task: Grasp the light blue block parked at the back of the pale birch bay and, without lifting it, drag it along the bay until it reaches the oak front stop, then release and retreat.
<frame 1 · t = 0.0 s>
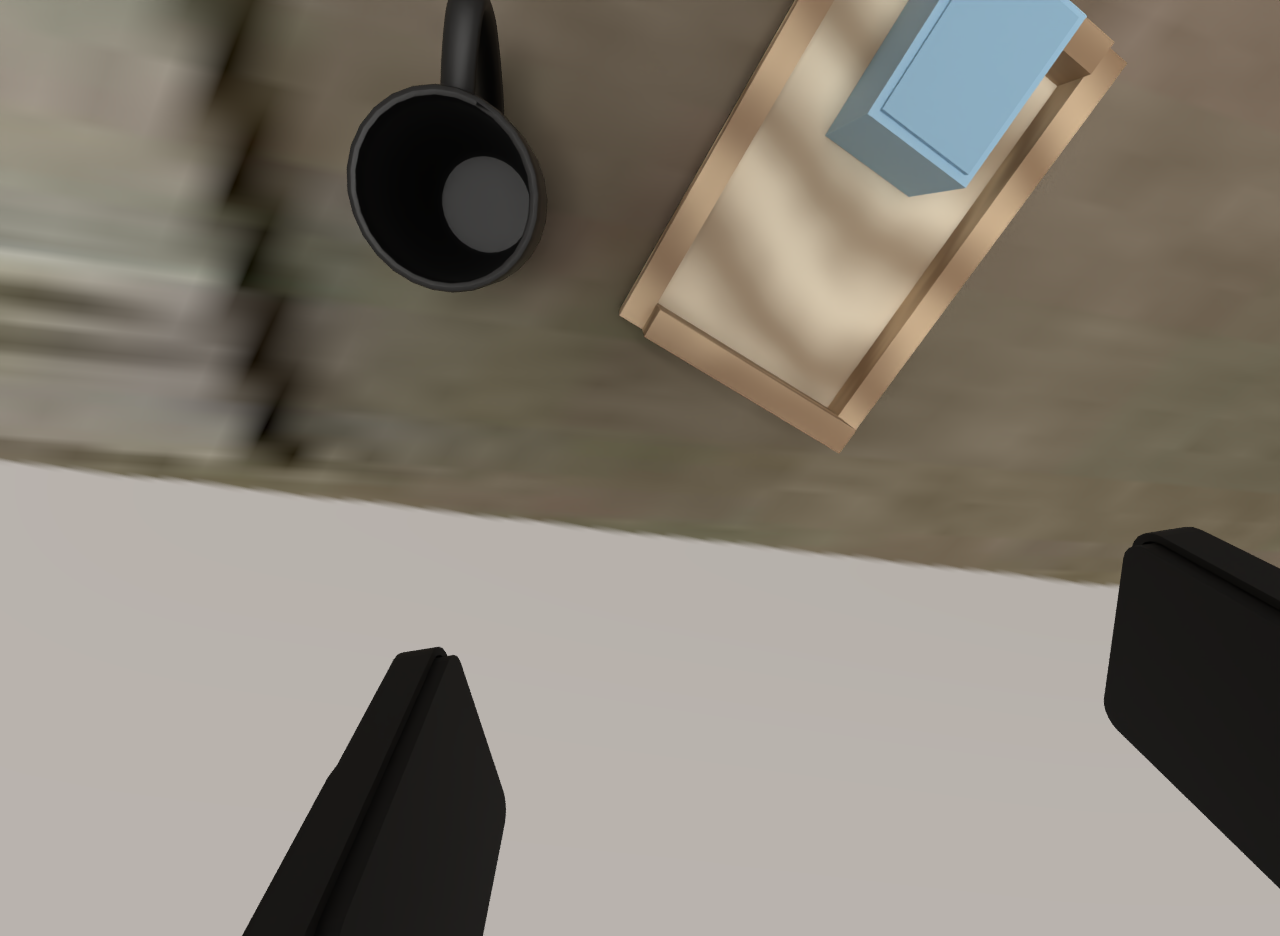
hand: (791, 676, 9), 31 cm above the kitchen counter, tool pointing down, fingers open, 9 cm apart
mug: (493, 171, 34), on the kitchen counter
bay: (840, 199, 35), on the kitchen counter
light blue block: (942, 81, 30), point 4 cm above the kitchen counter, slide at 0.0 cm
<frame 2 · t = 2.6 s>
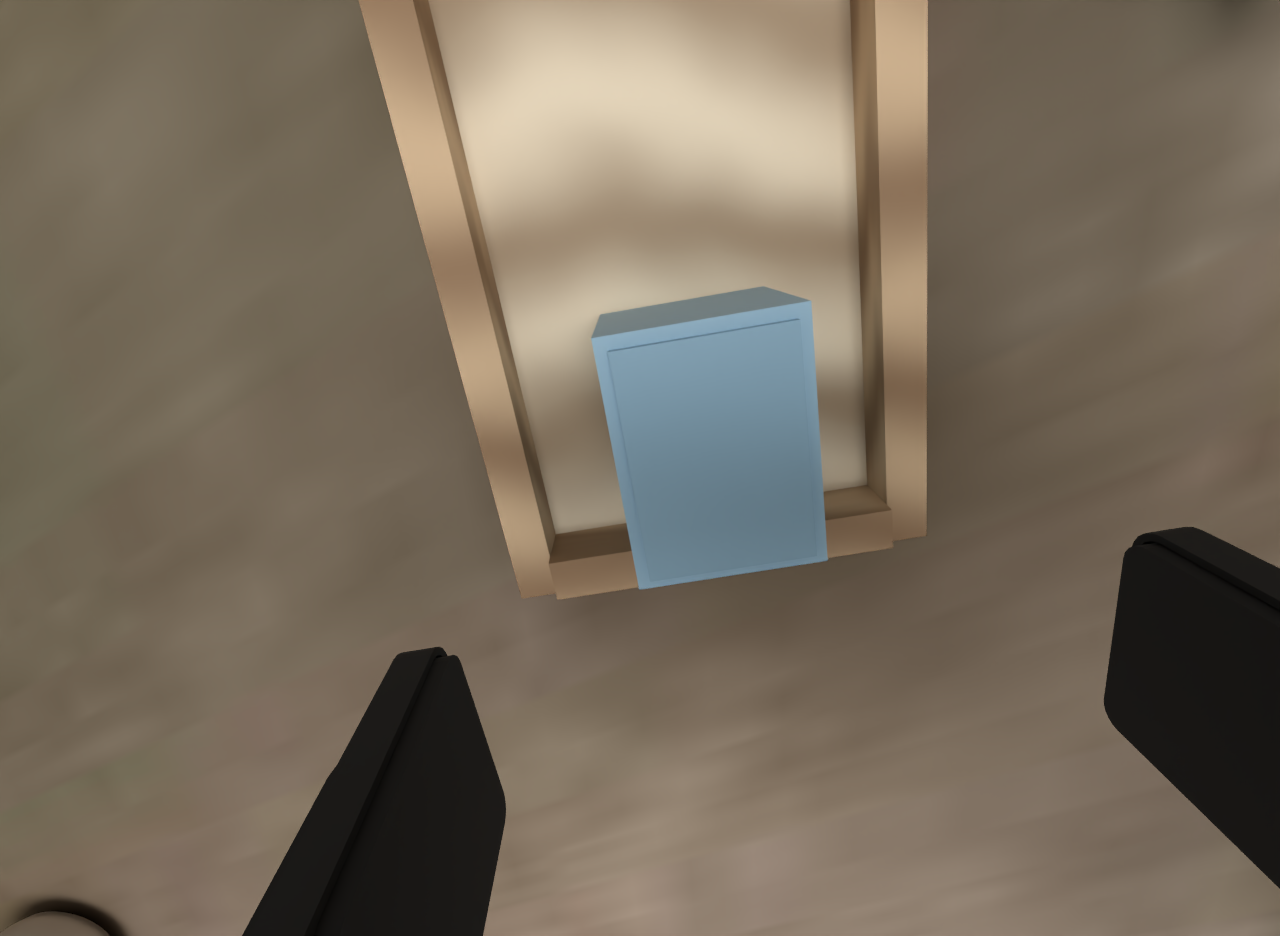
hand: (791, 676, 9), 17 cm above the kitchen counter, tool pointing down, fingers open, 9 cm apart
plastic bottle: (80, 929, 35), on the kitchen counter
bay: (671, 245, 22), on the kitchen counter
light blue block: (705, 429, 20), point 4 cm above the kitchen counter, slide at 0.0 cm
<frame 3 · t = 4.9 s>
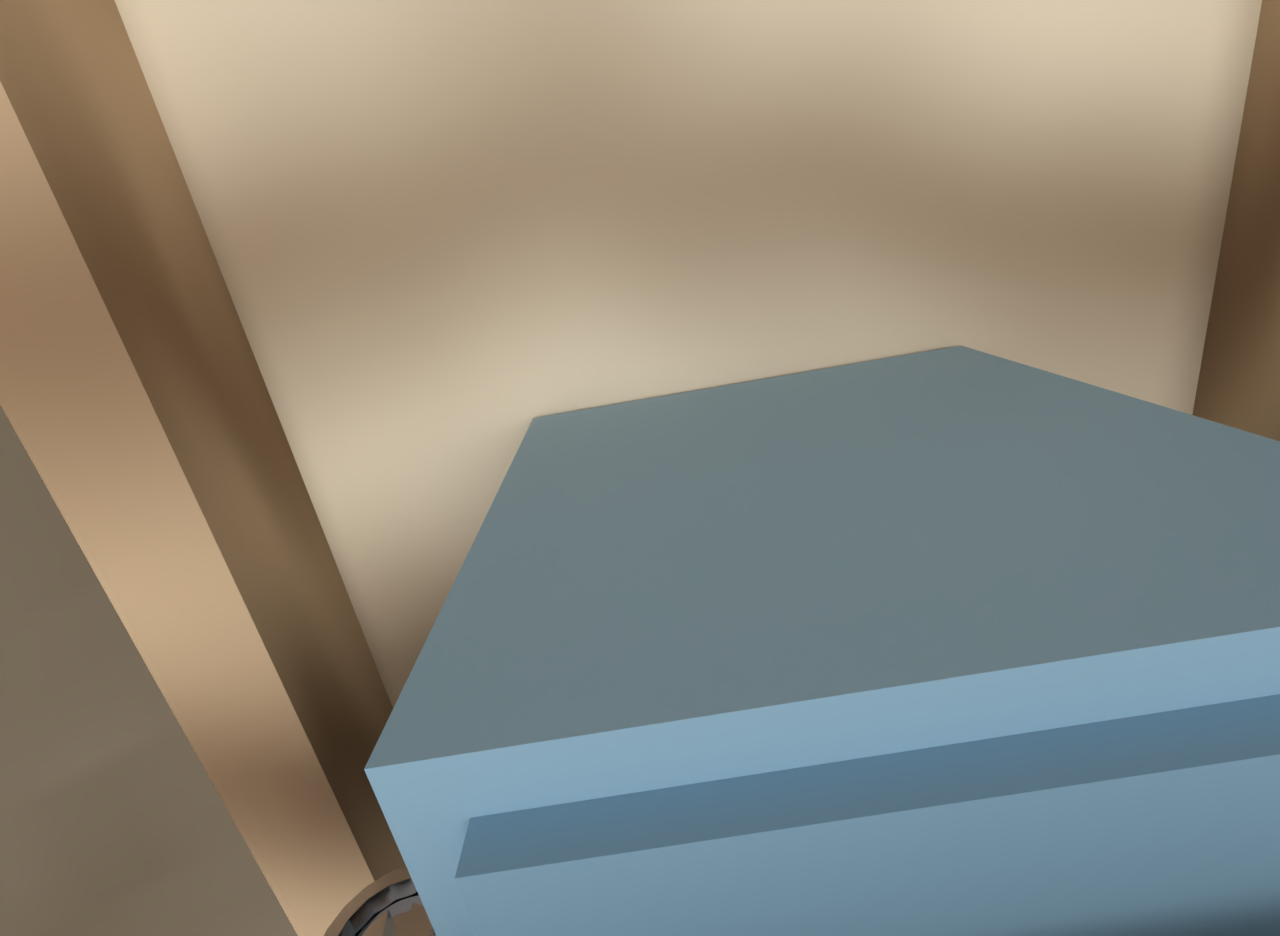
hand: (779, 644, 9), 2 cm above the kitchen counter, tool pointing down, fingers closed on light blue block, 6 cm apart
bay: (716, 238, 9), on the kitchen counter
light blue block: (836, 786, 7), point 4 cm above the kitchen counter, slide at 0.0 cm, touching gripper
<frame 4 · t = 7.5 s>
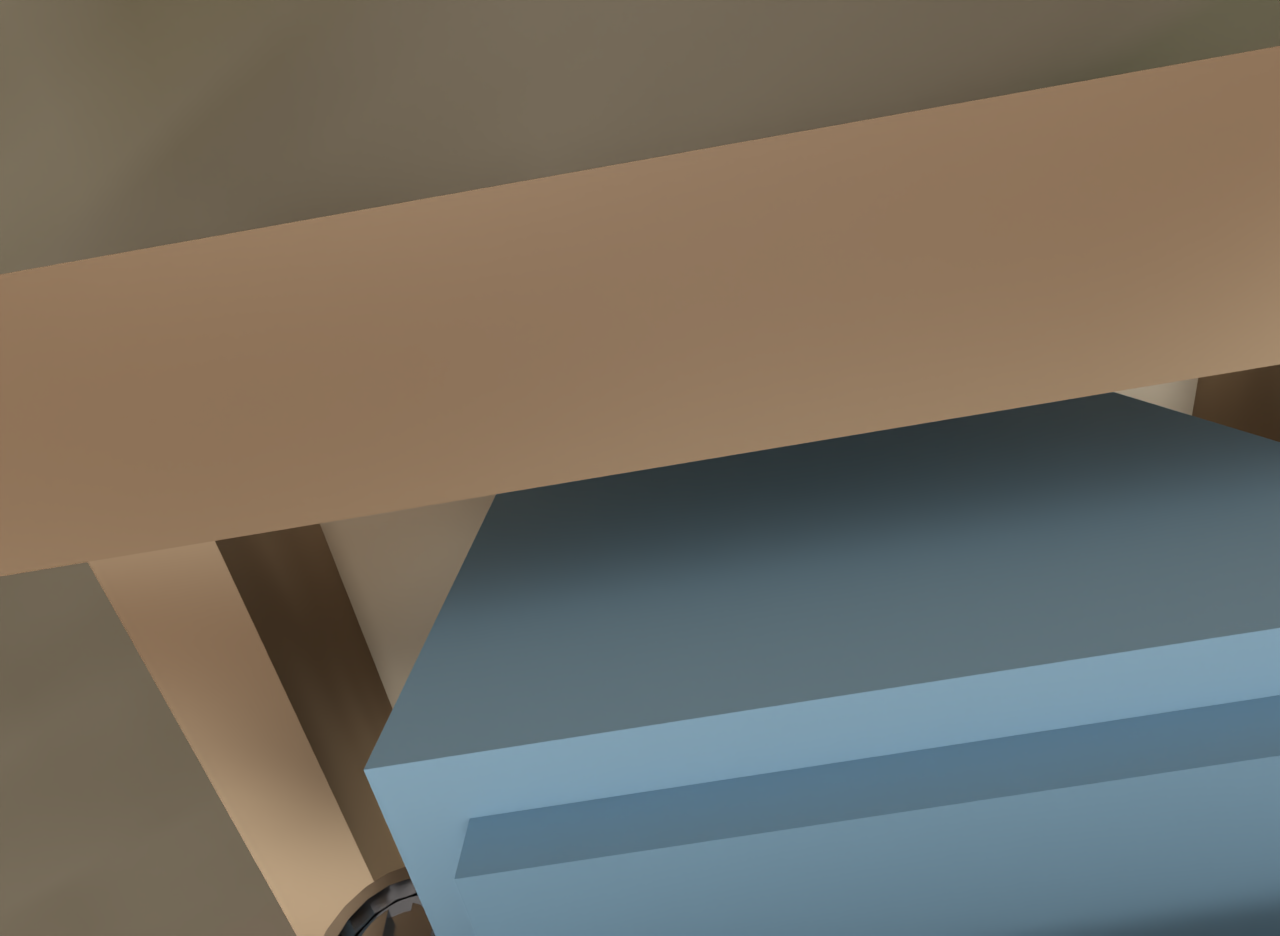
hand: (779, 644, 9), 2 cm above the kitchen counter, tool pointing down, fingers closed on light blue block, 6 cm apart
bay: (779, 809, 13), on the kitchen counter
light blue block: (835, 786, 7), point 4 cm above the kitchen counter, slide at 11.5 cm, touching gripper
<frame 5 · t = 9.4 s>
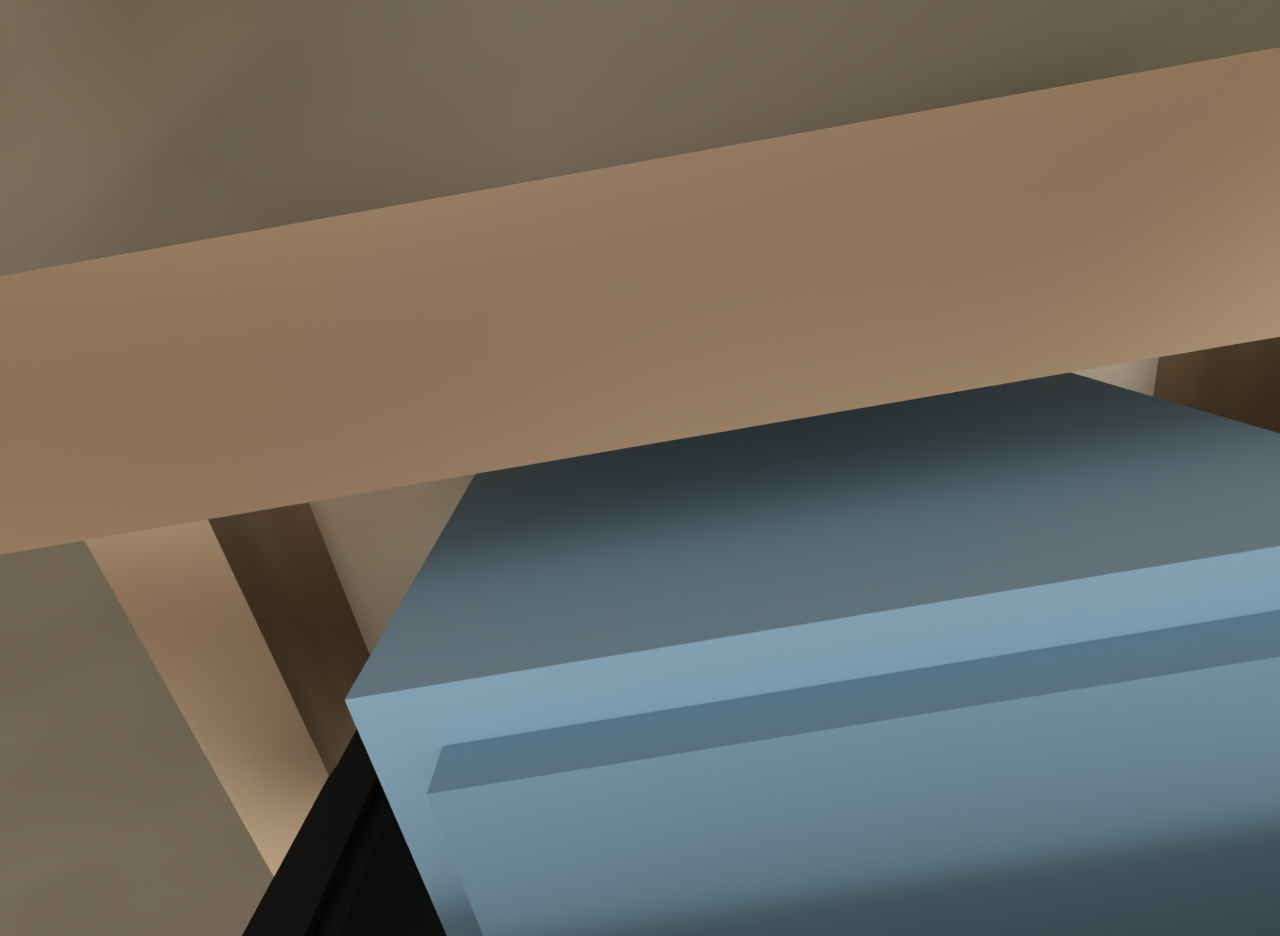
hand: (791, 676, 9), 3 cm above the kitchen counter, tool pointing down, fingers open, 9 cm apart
bay: (763, 791, 13), on the kitchen counter
light blue block: (805, 750, 7), point 4 cm above the kitchen counter, slide at 11.6 cm
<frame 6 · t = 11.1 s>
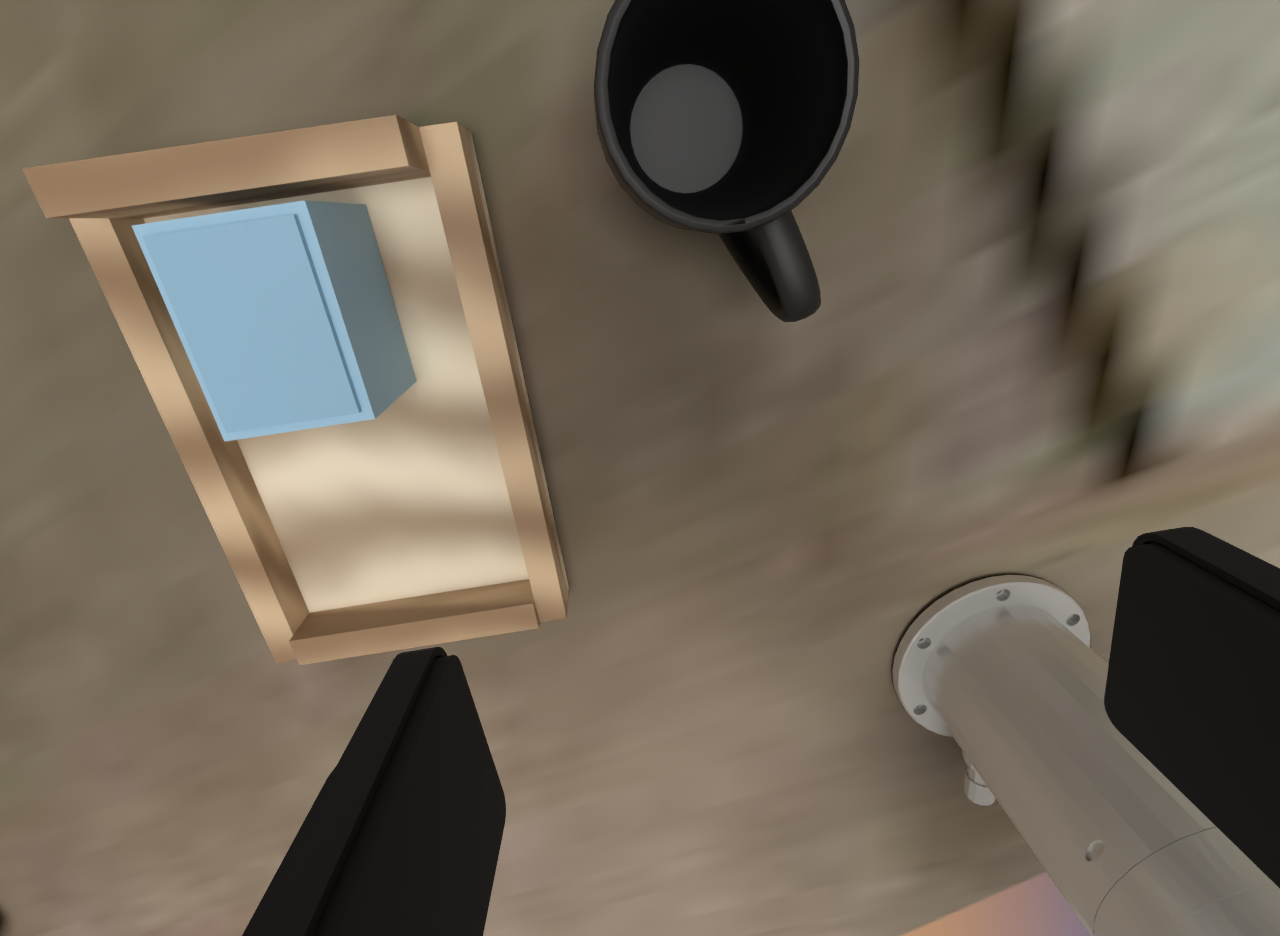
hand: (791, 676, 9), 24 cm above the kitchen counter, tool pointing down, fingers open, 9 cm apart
mug: (700, 174, 28), on the kitchen counter
bay: (373, 416, 31), on the kitchen counter
light blue block: (297, 317, 25), point 4 cm above the kitchen counter, slide at 11.6 cm
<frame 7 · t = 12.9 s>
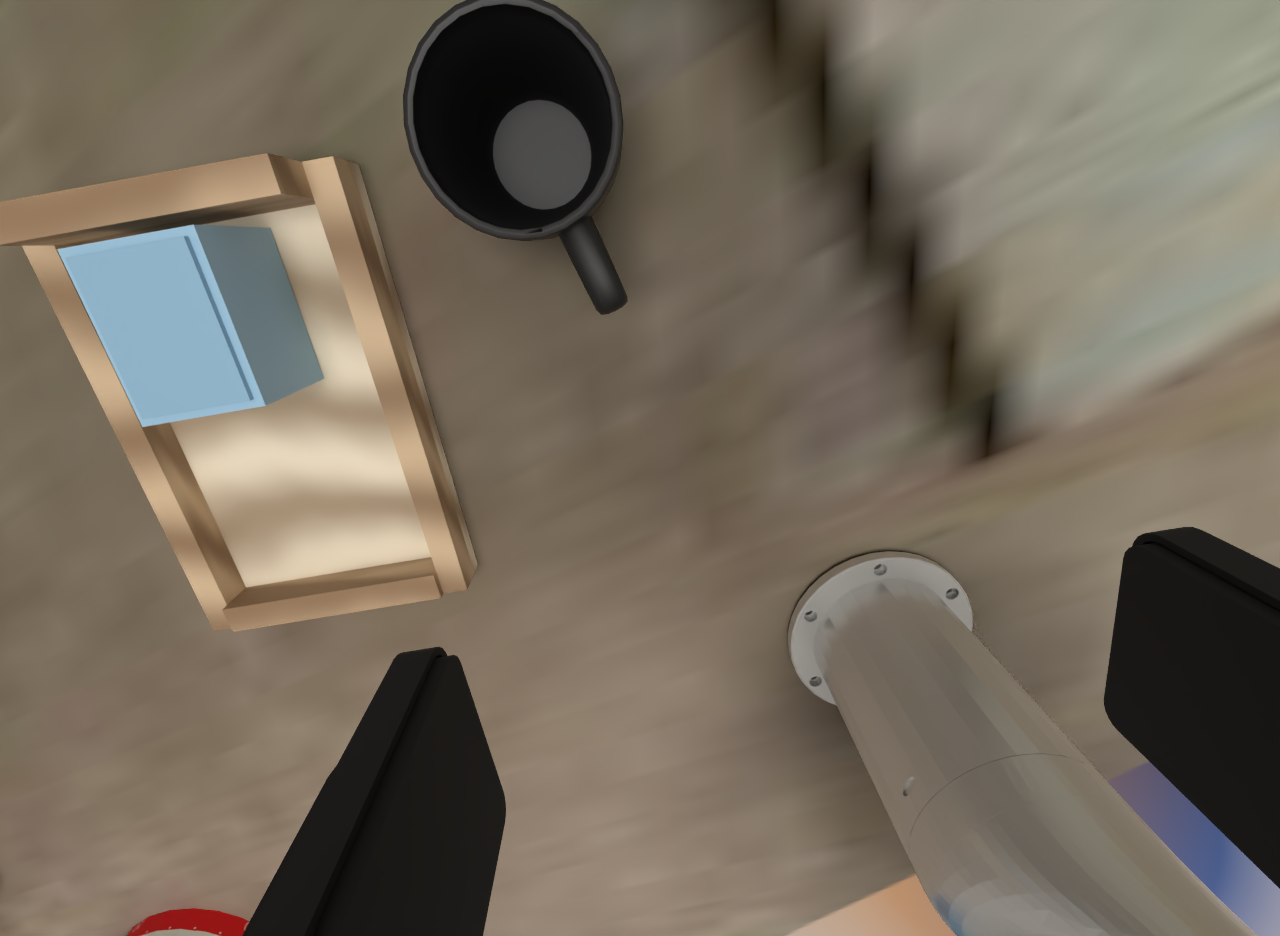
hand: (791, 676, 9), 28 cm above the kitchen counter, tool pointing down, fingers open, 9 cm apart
mug: (560, 192, 32), on the kitchen counter
bay: (293, 411, 36), on the kitchen counter
light blue block: (207, 323, 30), point 4 cm above the kitchen counter, slide at 11.6 cm
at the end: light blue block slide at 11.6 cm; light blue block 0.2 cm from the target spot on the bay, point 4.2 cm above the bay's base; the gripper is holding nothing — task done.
